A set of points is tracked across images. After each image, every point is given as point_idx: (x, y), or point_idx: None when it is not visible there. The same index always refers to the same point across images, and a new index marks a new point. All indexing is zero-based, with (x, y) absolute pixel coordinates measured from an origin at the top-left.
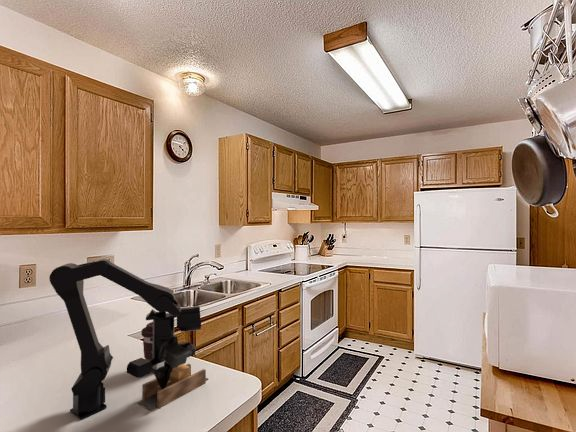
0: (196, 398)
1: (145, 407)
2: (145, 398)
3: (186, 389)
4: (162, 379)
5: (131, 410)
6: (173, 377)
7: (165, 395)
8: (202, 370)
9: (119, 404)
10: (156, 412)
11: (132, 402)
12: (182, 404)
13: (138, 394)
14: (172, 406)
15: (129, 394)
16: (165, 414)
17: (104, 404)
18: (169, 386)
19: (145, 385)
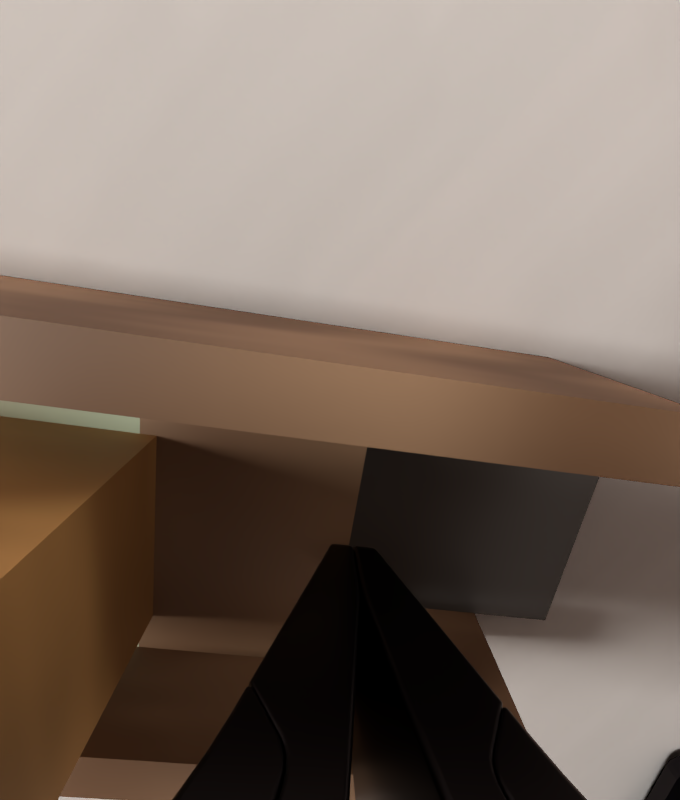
0: (155, 34)
1: (585, 497)
2: (463, 614)
3: (116, 300)
4: (480, 699)
5: (654, 571)
6: (103, 630)
7: (519, 372)
8: None
9: (596, 716)
10: (629, 319)
11: (538, 660)
12: (376, 131)
13: None
14: (465, 233)
15: None
16: (643, 174)
17: (670, 796)
18: (430, 430)
19: None
